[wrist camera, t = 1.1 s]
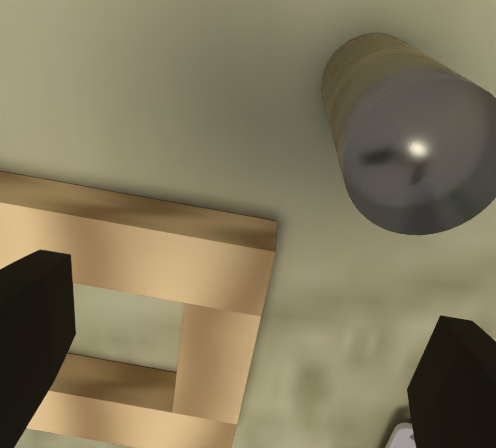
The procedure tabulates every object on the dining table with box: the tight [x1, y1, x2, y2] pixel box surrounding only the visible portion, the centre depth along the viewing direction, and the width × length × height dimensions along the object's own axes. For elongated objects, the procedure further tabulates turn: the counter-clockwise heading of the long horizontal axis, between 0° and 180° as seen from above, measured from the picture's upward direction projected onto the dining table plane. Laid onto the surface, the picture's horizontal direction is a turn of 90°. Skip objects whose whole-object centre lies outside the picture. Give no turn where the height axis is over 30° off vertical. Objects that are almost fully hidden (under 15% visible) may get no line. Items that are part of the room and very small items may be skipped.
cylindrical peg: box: [322, 33, 496, 235], centre depth 13 cm, size 4×4×8 cm
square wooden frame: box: [0, 171, 277, 448], centre depth 22 cm, size 14×14×2 cm
